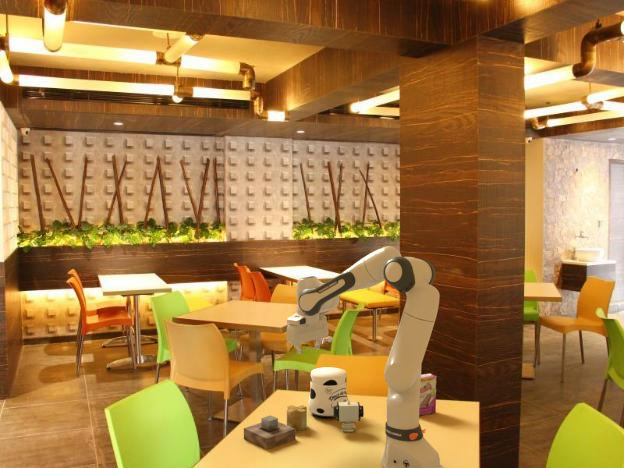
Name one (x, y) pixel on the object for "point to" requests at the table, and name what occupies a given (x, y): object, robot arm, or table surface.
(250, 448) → the table surface
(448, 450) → the table surface
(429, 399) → the candy bar box
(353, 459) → the table surface
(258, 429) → the block
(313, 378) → the milk container
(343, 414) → the pneumatic valve
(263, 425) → the square bit
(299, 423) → the cross bit
